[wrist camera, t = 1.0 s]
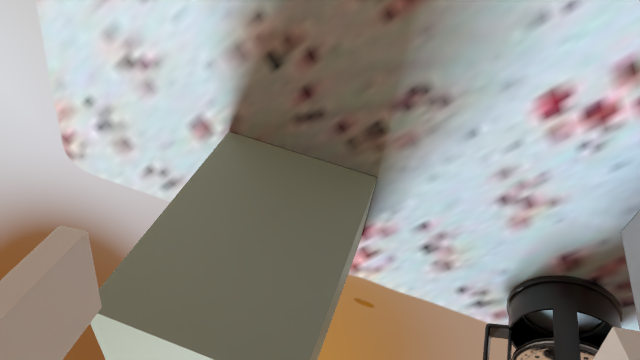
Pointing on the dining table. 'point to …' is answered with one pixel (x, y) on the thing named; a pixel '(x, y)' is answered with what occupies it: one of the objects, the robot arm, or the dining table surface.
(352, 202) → the sage green block
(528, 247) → the dining table surface
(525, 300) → the french press
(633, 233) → the stand
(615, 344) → the robot arm
